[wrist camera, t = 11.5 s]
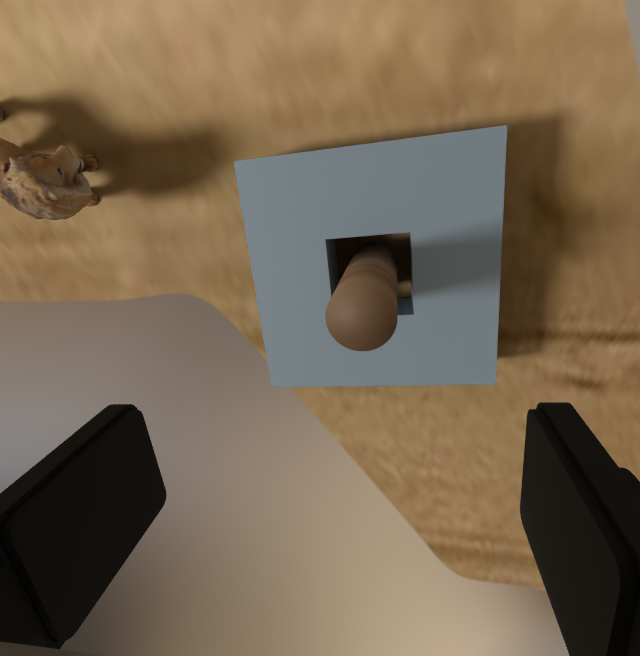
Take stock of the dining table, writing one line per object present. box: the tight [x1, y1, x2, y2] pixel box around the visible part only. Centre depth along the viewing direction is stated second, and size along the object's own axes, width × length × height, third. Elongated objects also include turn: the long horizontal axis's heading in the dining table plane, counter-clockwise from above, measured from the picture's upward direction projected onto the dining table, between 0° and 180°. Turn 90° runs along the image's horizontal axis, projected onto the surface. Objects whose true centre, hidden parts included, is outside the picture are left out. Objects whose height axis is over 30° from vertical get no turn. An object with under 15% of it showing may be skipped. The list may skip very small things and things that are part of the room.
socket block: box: [233, 125, 507, 387], centre depth 28 cm, size 16×16×4 cm
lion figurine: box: [0, 107, 98, 220], centre depth 27 cm, size 15×5×9 cm, turn 72°
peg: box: [325, 242, 398, 351], centre depth 25 cm, size 3×3×12 cm
